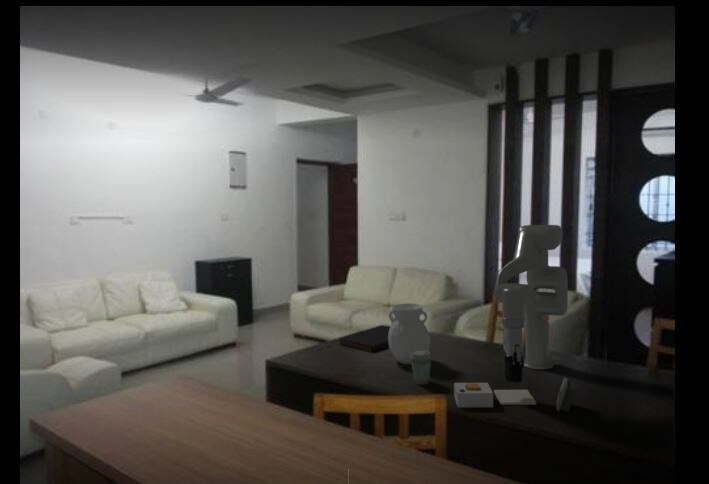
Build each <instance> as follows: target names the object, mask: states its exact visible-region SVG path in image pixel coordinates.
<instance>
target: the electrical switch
mask: <svg viewBox="0 0 709 484" xmlns="http://www.w3.org/2000/svg"><path fill="white" fill-rule="evenodd" d="M575 394H576V383H575V382H572V381H569V380H568V378H567V377H563V379H562V383H561V386H560V389H559V391H558V395H557V398H556V411H557V412H560V411H563V412H567V413H569V412H570V409H571V406H572V403H573V401H574V397H575Z"/></svg>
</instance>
